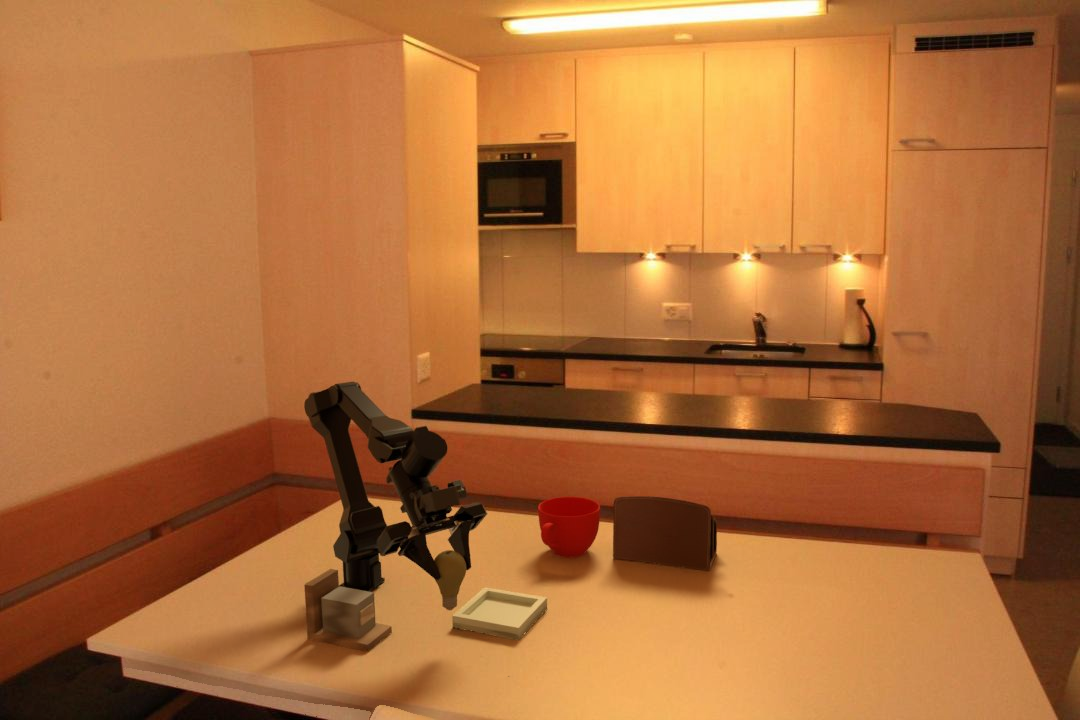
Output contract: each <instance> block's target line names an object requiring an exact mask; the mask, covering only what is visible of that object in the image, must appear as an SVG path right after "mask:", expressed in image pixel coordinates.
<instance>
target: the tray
mask: <svg viewBox="0 0 1080 720" xmlns="http://www.w3.org/2000/svg"><path fill="white" fill-rule="evenodd" d="M546 609H547V610H548V597H547V596H540V595H534V594H527V593H522V592H516V591H509V590H504V589H498V588H493V587H492V588H491V587H483V588H482V589H481V590H480V591H478V593H477V594H475V595H474V596H473V597H472V598H471V599H469V601H467V602H465V604H464V605H463V606H462V607H460V608H459V609H458V610H457V611H456V612H454V613H453V614H452V616H451V617H452V623H451V624H452V628H453V627H455V628H454V629H457V628H461V629H460V630H462V629H465V630H464V631H467V630H472V631H476V632H475V633H478V632H480V633H479V634H483V633H485V634H484V635H488V634H489V636H493V635H495V636H494V637H499V636H500V638H504V637H506V639H509V638H510V639H511V640H515V641H520V640H521V638H522V637H523V636H525V634H526V633H527V632H528V631H529V630H530V629H531V627H532V626H533V625H534V624H535V623H536V622H537V621H538V620H539V619H540V618H541V617H542V616H543V614H544V613H545V612H546V611H547V610H546ZM545 610H546V611H545ZM544 611H545V612H544ZM543 612H544V613H543ZM542 613H543V614H542ZM540 616H541V617H540ZM539 617H540V618H539ZM538 618H539V619H538ZM537 619H538V620H537ZM536 620H537V621H536ZM535 621H536V622H535ZM534 622H535V623H534ZM533 623H534V624H533ZM532 624H533V625H532ZM530 626H531V627H530ZM529 628H530V629H529ZM528 629H529V630H528ZM527 630H528V631H527ZM472 631H471V632H472ZM526 631H527V632H526ZM525 632H526V633H525ZM524 633H525V634H524ZM519 639H520V640H519Z"/></svg>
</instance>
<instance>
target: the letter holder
mask: <svg viewBox="0 0 1080 720" xmlns="http://www.w3.org/2000/svg"><path fill="white" fill-rule="evenodd" d="M612 509H613V520H612V521H613V525H612V526H613V529H612V530H613V531H612V532H613V533H612V534H613V535H612V536H613V537H612V540H613V542H612V546H613V547H612V558H613V560H615V561H616V560H617V561H624V562H625V561H627V562H634V563H641V564H648V565H649V564H650V565H656V566H665V567H672V568H673V567H674V568H682V569H688V570H689V569H690V570H695V571H696V570H697V571H705V572H709V571H710V570H711V568H712V565H713V563H714V560H715V557H716V555H717V549H718V546H717V545H718V539H717V538H718V521H717V520H716V519H715V518H714V515H713V514H712V511H711V508H710V507H709V506H707V505H704V504H701V503H697V502H693V501H688V500H683V499H677V498H669V497H664V496H663V497H662V496H649V495H648V496H647V495H646V496H643V495H642V496H641V495H640V496H637V495H636V496H635V495H633V496H618V497H616V498H615V499H614V501H613V508H612Z"/></svg>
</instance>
